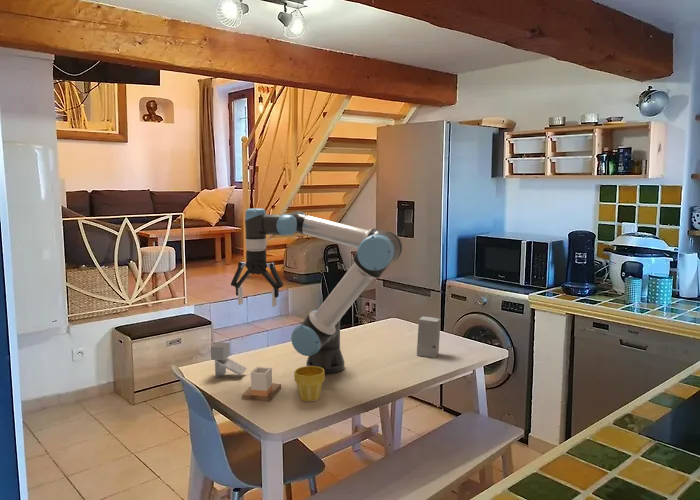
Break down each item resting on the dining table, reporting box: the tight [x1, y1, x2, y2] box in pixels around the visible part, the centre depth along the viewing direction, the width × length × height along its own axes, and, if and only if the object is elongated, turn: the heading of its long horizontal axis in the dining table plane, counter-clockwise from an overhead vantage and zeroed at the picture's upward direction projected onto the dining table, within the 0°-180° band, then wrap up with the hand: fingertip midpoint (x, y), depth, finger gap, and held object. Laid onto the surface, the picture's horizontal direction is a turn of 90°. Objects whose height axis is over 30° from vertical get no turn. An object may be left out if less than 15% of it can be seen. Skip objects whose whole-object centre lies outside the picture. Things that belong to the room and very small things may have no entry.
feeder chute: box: [210, 341, 247, 379], centre depth 211 cm, size 12×6×12 cm, turn 78°
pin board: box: [241, 382, 282, 402], centre depth 195 cm, size 10×12×6 cm
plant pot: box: [293, 366, 326, 403], centre depth 191 cm, size 10×10×10 cm
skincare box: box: [416, 316, 442, 359], centre depth 235 cm, size 8×7×16 cm
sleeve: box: [250, 366, 273, 396], centre depth 192 cm, size 6×6×8 cm
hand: (257, 304), depth 212 cm, fingers open, 13 cm apart
